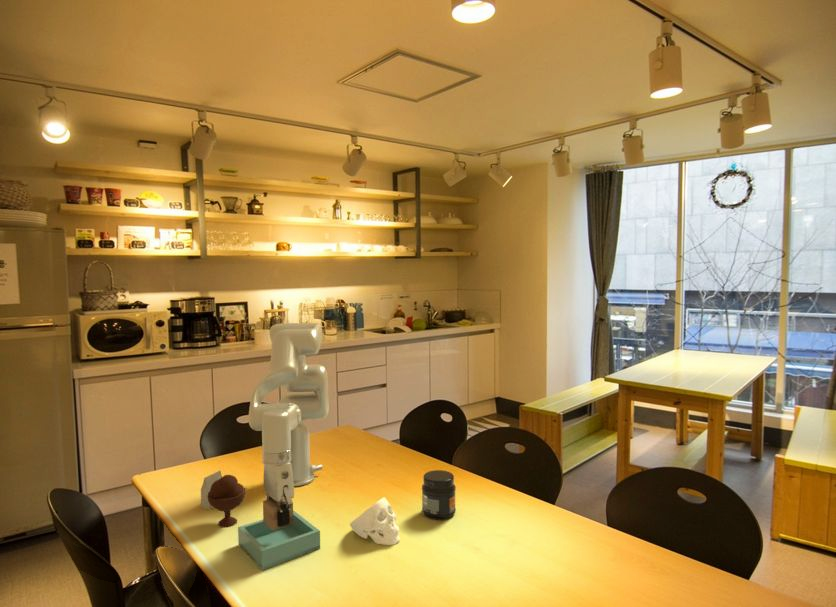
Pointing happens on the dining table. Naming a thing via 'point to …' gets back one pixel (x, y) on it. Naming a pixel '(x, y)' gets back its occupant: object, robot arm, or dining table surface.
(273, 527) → the walnut cube
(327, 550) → the dining table surface
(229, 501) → the ice cream bowl
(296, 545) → the stoneware box
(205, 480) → the tea bag
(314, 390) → the robot arm
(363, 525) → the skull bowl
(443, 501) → the supplement container
